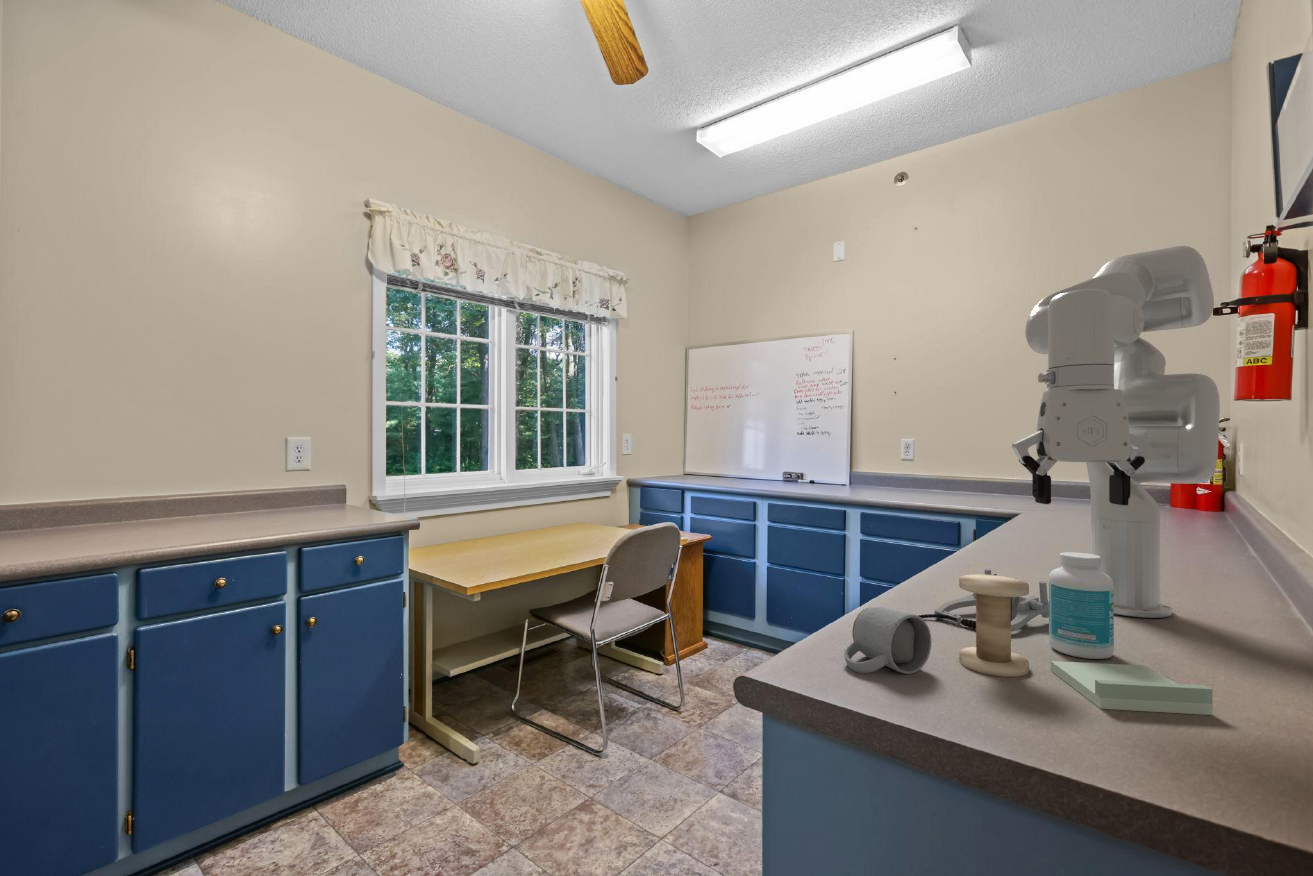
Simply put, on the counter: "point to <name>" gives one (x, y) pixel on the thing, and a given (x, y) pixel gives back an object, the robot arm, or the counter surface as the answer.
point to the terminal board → (1133, 688)
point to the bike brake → (1020, 608)
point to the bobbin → (993, 626)
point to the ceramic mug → (889, 641)
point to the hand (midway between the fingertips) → (1080, 503)
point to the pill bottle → (1081, 607)
